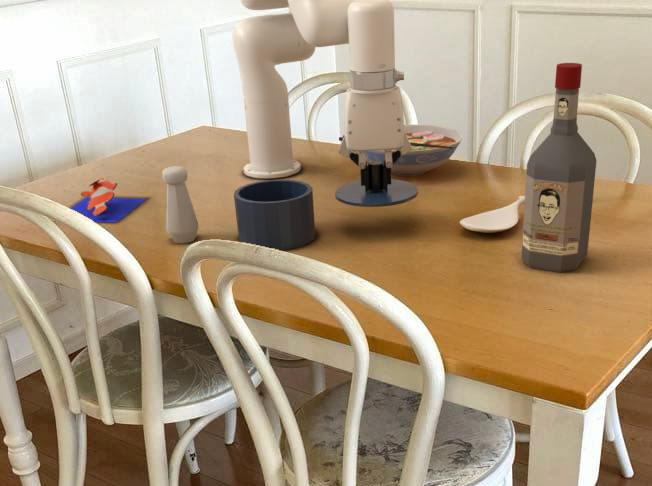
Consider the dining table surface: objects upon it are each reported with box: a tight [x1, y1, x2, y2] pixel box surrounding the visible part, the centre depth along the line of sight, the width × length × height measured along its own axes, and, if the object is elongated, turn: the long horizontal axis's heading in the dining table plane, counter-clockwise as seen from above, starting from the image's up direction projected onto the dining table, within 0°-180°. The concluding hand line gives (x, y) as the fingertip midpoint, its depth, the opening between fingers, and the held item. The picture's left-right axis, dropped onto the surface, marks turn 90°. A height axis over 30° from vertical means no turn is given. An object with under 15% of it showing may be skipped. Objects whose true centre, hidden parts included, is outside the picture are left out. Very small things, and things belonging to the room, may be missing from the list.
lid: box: [334, 161, 419, 208], centre depth 155 cm, size 15×15×6 cm
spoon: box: [459, 195, 525, 234], centre depth 161 cm, size 9×32×4 cm, turn 135°
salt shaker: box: [161, 165, 199, 244], centre depth 155 cm, size 6×6×13 cm
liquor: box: [521, 62, 597, 273], centre depth 134 cm, size 9×9×30 cm
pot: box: [233, 179, 316, 251], centre depth 155 cm, size 14×14×8 cm
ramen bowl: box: [338, 124, 464, 177], centre depth 187 cm, size 25×23×8 cm
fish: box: [80, 177, 118, 217], centre depth 174 cm, size 13×5×9 cm
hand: (376, 188), depth 156 cm, fingers closed on lid, 2 cm apart
